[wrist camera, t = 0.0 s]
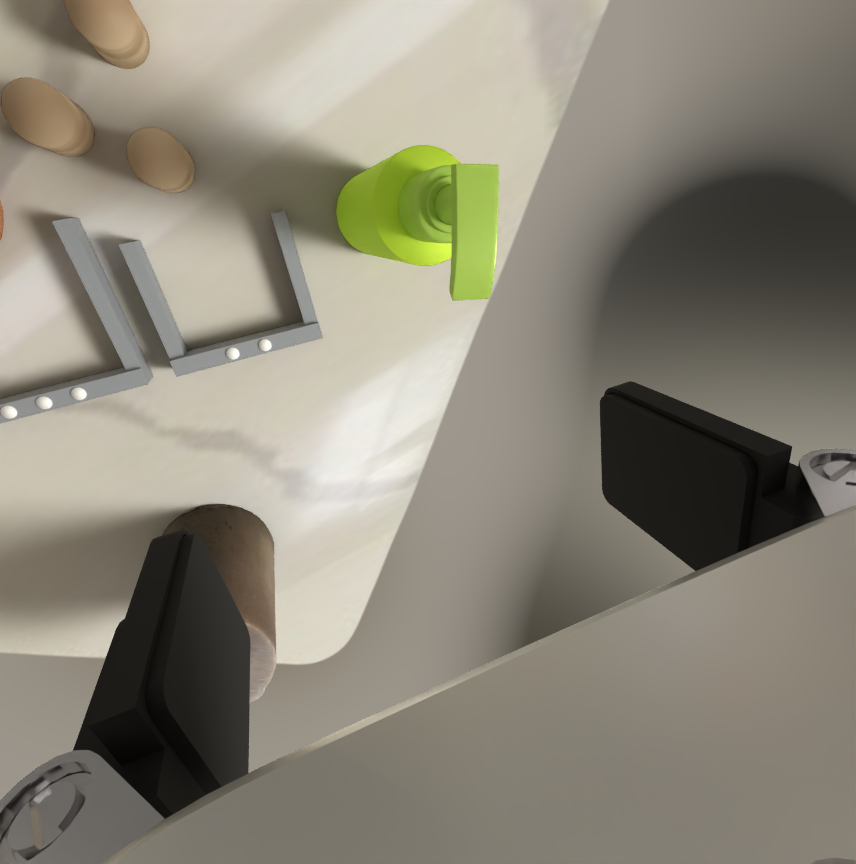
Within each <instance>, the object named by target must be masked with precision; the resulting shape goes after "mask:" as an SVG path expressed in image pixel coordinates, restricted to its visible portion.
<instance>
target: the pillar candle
mask: <svg viewBox="0 0 856 864" xmlns="http://www.w3.org/2000/svg"><path fill="white" fill-rule="evenodd" d="M182 529H185V530H187V532H188V533H189V534H192V533H195V532H197V533H199V534H200V536H201V537H202V539H203V541H204V543H205V545H206V547H207V549H208V551H209V553H210V555H211V557H212V559H213V561H214V563H215V565H216V567H217V569H218V571H219V573H220V575H221V577H222V578H223V580H224V582H225V584H226V586H227V588H228V590H229V592H230V594H231V596H232V598H233V600H234V602H235V604H236V606H237V608H238V610H239V612H240V614H241V616H242V618H243V620H244V622H245V624H246V626H247V628H248V631H249V635H250V644H251V646H250V702H251V701H253V700H257V699H258V698H259V697H261V695H262V694H263V693H264V691H265V690H264V688H265V687H266V686H267V685H268V683H269V681H270V680H271V678H272V675H273V673H274V670H275V667H276V633H275V581H274V580H275V579H274V542H273V539H272V535H271V533H270V532H269V530H268V528H267V527H266V525H265V524H264V522H263V521H261V519H260V518H259V517H257V516H256V515H254V514H253V513H251V512H249V511H247V510H245V509H243V508H239V507H236V506H229V505H207V506H201V507H198V508H196V509H194V510H192V511H190V512H188V513H186V514H183V515H181V516H179V517H178V518H177V519H176V520H174V521H173V522H172V523H171V524H170V525H169V526H168V527H167V529H166V530H165V532H164V533H163V535H166V534H169V533H172V532H176V531H179V530H182ZM163 535H162V536H163ZM250 702H249V703H250Z"/></svg>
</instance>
